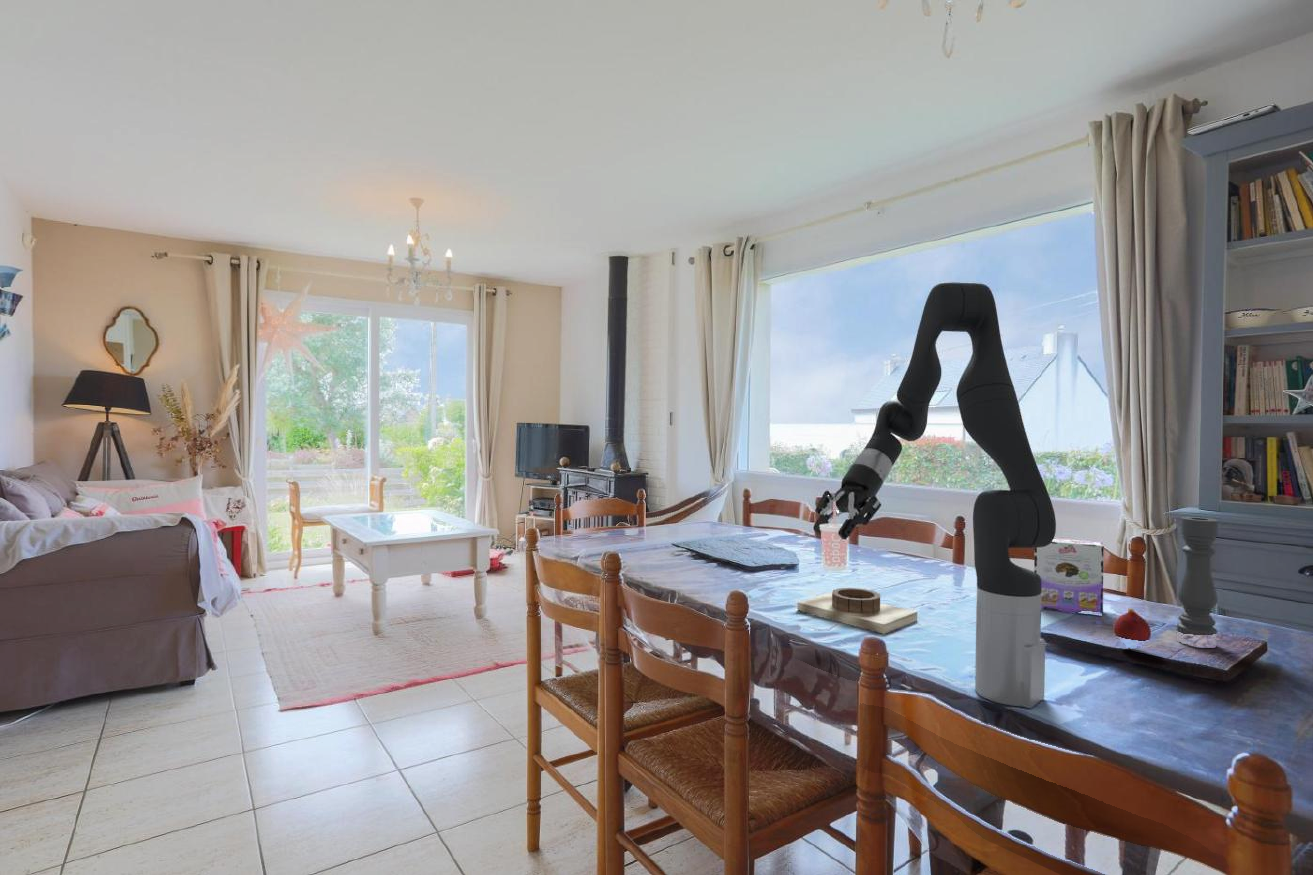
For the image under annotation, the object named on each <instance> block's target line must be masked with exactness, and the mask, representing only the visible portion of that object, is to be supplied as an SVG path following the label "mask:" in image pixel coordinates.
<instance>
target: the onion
mask: <svg viewBox="0 0 1313 875" xmlns="http://www.w3.org/2000/svg"><path fill="white" fill-rule="evenodd" d="M1113 633H1114V635H1115V637H1116V636H1118V637H1121V638H1125V639H1131V640H1138V641H1146V640H1149V641H1150V639H1151V635H1152V632H1151V628H1150V625H1149V623H1148V622H1147V621H1146V619H1144V618H1143V617H1142V616H1141V615H1139V614H1138V613H1137V612H1136V611H1135V610H1134V609H1133V608H1131V607H1129V608H1128V611H1127V612H1125V613H1124V614H1121V616H1119V617H1118V618H1117V619H1116V620H1115V622H1114V624H1113Z"/></svg>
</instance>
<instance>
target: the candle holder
mask: <svg viewBox="0 0 1313 875" xmlns="http://www.w3.org/2000/svg"><path fill="white" fill-rule="evenodd" d="M1180 520H1181V521H1180V534H1181V535H1182V539H1183V540H1184V543H1186V545H1184V546H1183V547H1181V551H1182V552H1183V553H1184V555H1185V569H1184V570H1185V571H1184V573H1183V575H1182V576H1183V577H1182V580H1181V583H1180V586H1179V589H1178V592H1177V599H1178V600H1179V602H1180V604H1181V605H1182V606H1183V607H1182V609H1183V610H1184V611H1182V613H1181V614H1179V616H1178V620H1179V621H1180V622H1177V624H1176V632H1177V631H1178V632H1181V633H1183V634H1193V635H1213V634H1217V635H1218V633H1217V632H1218V630H1217V629H1216V628H1215V626H1216V620H1215V619H1214V618H1213V616H1212V615H1210V614H1211V613H1212V612H1213V610H1212V609H1214V608H1215V606H1216V605H1217V603H1218V595H1217V591H1216V587H1215V583H1214V578H1213V575H1212V569H1211V568H1212V558H1213V556H1214V555H1216V553H1217V552H1216V549H1214V548H1213V547H1212V546H1213V544H1214V543H1215V541H1216V540H1217V538H1218V534H1219V532H1218V530H1219V529H1218V528H1219V519H1214V518H1209V517H1208V518H1207V517H1201V516H1200V517H1197V516H1181V518H1180Z"/></svg>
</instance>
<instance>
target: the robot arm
mask: <svg viewBox="0 0 1313 875" xmlns="http://www.w3.org/2000/svg"><path fill="white" fill-rule="evenodd" d="M997 310H998V309H997V305H996V301H995V297H994V294H993V292H992V289H991V288H990V287H989V286H988V285H986V284H984V283H981V282H970V281H968V282H966V281H942V282H938V283H937V284H935V285H934V286H933V287H932V288H931V290H930V291H929V294H928V296H927V298H926V301H925V304H924V307H923V311H922V314H921V318H920V322H919V325H918V329H917V333H916V336H915V337H916V338H915V341H914V346H913V350H912V354H911V358H910V360H909V363H908V367H907V369H906V371H905V374H903V377H902V379H901V382H900V384H899V386H898V389H897V392H896V398H897V400H896V399H891V400H887V401H886V402H884V403H883V404H882V405H881V407H880V409H879V411H878V414H877V418H876V423H875V427H874V430H873V433H872V435H871V436H870V439H869V440H868V442H867V443H866V445H865V447H864V448H863V449H862V451H861V452H860V453H859V455H857V457H856V458H855V459H854V461H853V463H852V464H851V465H850V468H849V469H848V470H847V472H846V473H845V475H844V477H843V478H842V480H841V486H840V488H839V489H838V490H837V491H836V492H835V493H831V492H830V491H829V490H825V491H824V492H823V494H822V496H821V498H820V500H819V501H818V503H817V505H816V507H815V510H814V511H815V512H816V514H817V515H818V516H819V517H818V519H817V520H816V522H815V523H814V525H813V531H814V532H815V534H816V535H819V536H821V530H820V526H819V525H821V524H830V521H831V520H832V519H833V501H836V518H837V517H839V516H840V515H842V514H843V513H845V514H846V513H848V516H847V517H848V519H845V521H844V522H843V523H842V524H843V525H842V527H841V528H840V530H839V532H838V534H839V536H840V537H841V538H842V539H845V540H846V539H847V537H848V538H849V537H850V536H851V535H852V533H853V532H854V530H855V528H856V527H858V526H859V525H861V524H862V526H867V525H868V524H869V523H870V521H871V520H872V519H873V517H874V516H875V515H876V514H877V512H878V510H880V508H881V506H882V503H881V502H880V500H879V499H878V498H877V494H878V493H879V491H880V489H881V488H882V486H883V485H884V483H885V481H886V480H887V479H888V476H889V475H890V472H891V469H892V468H893V467H894V465H895V463H896V461H897V460H898V458H899V456H901V453H902V451H903V446H902V445H903V444H902V442H901V441H900V440H899V438H901V439H903V440H904V441H907V442H914V441H918V440H919V439H920V438H921V437H922V436H923V435H924V433H925V432H926V429H927V425H928V414H929V406H930V403H931V401H932V398H933V397H934V395H935V393H936V391H937V389H938V387H939V385H940V383H941V378H942V365H941V361H940V359H939V354H938V351H937V346H936V344H937V341H938V338H939V336H940V335H941V333H942V332H957V333H963V332H964V333H965V332H966V333H967V334H968V335H969V337H970V342H971V348H972V349H971V350H972V353H971V357H970V359H969V362H968V363H967V366H966V367H965V369H964V371H963V373H962V375H961V377H960V379H959V381H958V384H957V387H956V392H955V394H956V395H955V396H956V400H957V401H956V402H957V404H958V405H957V406H958V409H959V414H960V419H961V423H962V425H963V427H964V430H965V431H966V432H967V434H968V435H969V437H971V439H972V440H973V441H974V442H975V443H976V444H977V446H979V448H981V449H982V450H983V451H984V452H985V453H986V454H987V455H988V457H990V458H991V459H992V460H993V462H995V464H996V465H997V466H998V467H999V469H1000V470H1001V472H1002V475H1003V477H1004V478H1005V479H1006V482H1007V485H1008V487H1009V489H1007V490H1006V489H997V490H996V489H990V490H989V489H988V490H984V491H982V492H980V493H979V494H978V495H977V497H976V499H975V501H974V504H973V511H972V529H973V531H972V532H973V551H974V552H973V555H974V559H973V562H974V569H975V574H976V607H975V608H976V609H975V610H976V612H975V614H976V618H975V620H976V621H975V664H974V666H975V670H974V671H975V675H974V684H975V685H974V687H975V689H974V690H975V692H976V693H977V694H978V695H979V696H980V697H982V698H984V699H987V700H989V701H992V702H993V703H994V702H995V703H998V704H1002V705H1007V706H1011V707H1012V706H1013V707H1014V706H1015V707H1024V708H1025V709H1026V708H1027V709H1032V708H1033V707H1034V706H1036V705H1037V704H1039V703H1040V702H1041V701H1042V700H1044V699H1045V685H1046V684H1045V677H1046V674H1045V673H1046V639H1044V638H1043V637H1041V635H1042V633H1041V632H1042V629H1041V628H1042V609H1041V592H1042V581H1041V577H1040V576H1039V575H1038V574H1037V573H1035V572H1034V570H1030V569H1028V568H1026V567H1023V566H1019V565H1017V564H1016V563H1014V562H1012V561H1011V557H1010V550H1009V548H1010V549H1018V548H1019V549H1030V548H1031V549H1032V548H1038V547H1045V546H1047V545H1049V544H1050V543H1051V542H1052V540H1053V539H1054V538H1055V536H1056V531H1057V521H1056V514H1055V510H1054V506H1053V503H1052V499H1051V497H1050V494H1049V492H1048V489H1047V487H1046V484H1045V482H1044V479H1043V477H1042V475H1041V471H1040V469H1039V467H1038V464H1037V462H1036V459H1035V457H1034V454H1033V453H1034V452H1033V450H1032V449H1031V445H1030V442H1029V439H1028V438H1029V437H1028V435H1027V431H1026V428H1025V425H1024V421H1023V417H1022V413H1021V408H1020V404H1019V400H1018V396H1017V393H1016V390H1015V386H1014V383H1013V381H1012V377H1011V374H1010V371H1009V366H1008V364H1007V359H1006V355H1005V351H1004V347H1003V343H1002V342H1003V341H1002V336H1001V330H1000V324H999V316H998V311H997ZM830 511H831V512H830ZM829 512H830V513H829ZM828 513H829V514H828Z"/></svg>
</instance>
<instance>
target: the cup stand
mask: <svg viewBox="0 0 1313 875" xmlns="http://www.w3.org/2000/svg"><path fill="white" fill-rule="evenodd" d="M796 606H797V610H800V611H803V612H802V613H804V612H807V613H806V614H808V613H810V614H809V615H811V614H814V615H813V616H815V615H817V616H816V617H819V616H821V617H820V618H823V617H824V619H826V618H827V620H830V619H833V620H832V621H834V620H836V621H835V622H837V621H839V623H841V622H842V624H845V623H846V625H849V624H850V625H849V626H852V625H854V626H853V627H856V626H858V627H857V628H860V627H861V629H864V628H865V629H864V630H867V629H871V630H873V631H872V632H875V631H876V633H880V634H883V635H886V634H888V633H890V632H893V631H896V630H897V629H900V628H903V627H905V626H908V625H910V624H912V623H914V622H918V611H916V610H911V609H908V608H903V607H898V606H894V605H890V604H885V603H882V602H881V593H878V592H876V591H874V590H871V589H866V588H858V587H857V588H856V587H841V588H836V589H833V590H832V591H831V592H828V593H824V594H821V595H818V596H813V597H810V598H808V599H805V600H804V599H803V600H800V601H797V605H796ZM800 611H799V612H800ZM871 630H870V631H871Z"/></svg>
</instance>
